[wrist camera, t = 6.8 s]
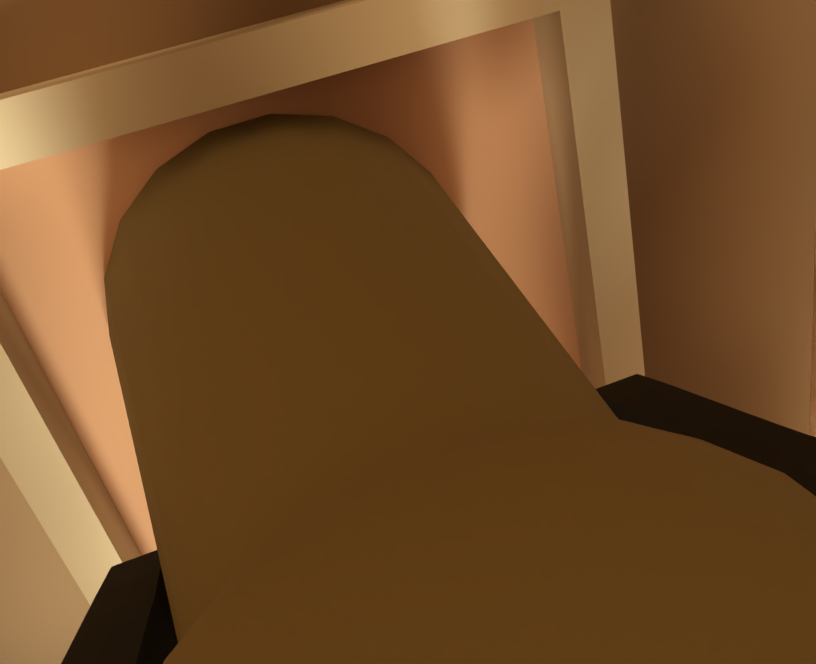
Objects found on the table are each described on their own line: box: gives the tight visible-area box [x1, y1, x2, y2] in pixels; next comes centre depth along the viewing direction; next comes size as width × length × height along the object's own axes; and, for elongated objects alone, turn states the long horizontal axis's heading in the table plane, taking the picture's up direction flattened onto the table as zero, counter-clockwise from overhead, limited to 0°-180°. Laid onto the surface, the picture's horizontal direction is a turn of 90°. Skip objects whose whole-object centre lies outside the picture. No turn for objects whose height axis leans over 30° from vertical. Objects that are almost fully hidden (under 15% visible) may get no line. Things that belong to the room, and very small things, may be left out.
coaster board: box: [0, 0, 816, 664], centre depth 13 cm, size 20×20×2 cm
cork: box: [104, 114, 816, 664], centre depth 8 cm, size 6×6×11 cm
